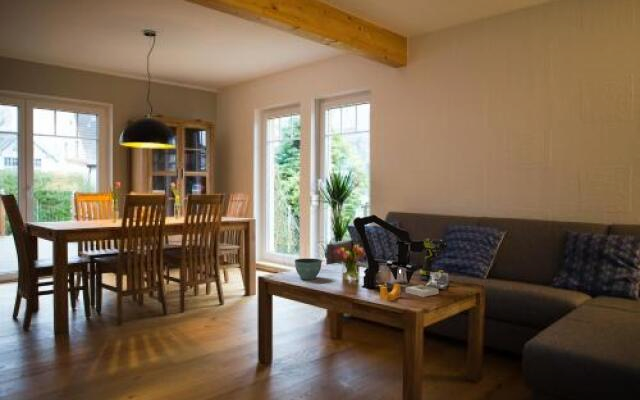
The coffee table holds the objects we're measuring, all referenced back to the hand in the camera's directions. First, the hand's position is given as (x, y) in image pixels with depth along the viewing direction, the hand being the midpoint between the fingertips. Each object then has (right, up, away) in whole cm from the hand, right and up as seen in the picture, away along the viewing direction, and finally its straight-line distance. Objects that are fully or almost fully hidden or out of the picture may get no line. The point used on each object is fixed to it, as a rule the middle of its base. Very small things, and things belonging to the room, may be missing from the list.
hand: (402, 281), depth 259 cm
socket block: (0, -4, 0) cm, 4 cm away
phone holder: (+20, -5, +4) cm, 21 cm away
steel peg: (0, -4, 0) cm, 4 cm away
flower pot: (-52, -2, +22) cm, 56 cm away
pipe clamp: (-9, -5, -24) cm, 26 cm away
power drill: (+23, -4, +22) cm, 32 cm away
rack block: (+9, -4, -11) cm, 15 cm away
